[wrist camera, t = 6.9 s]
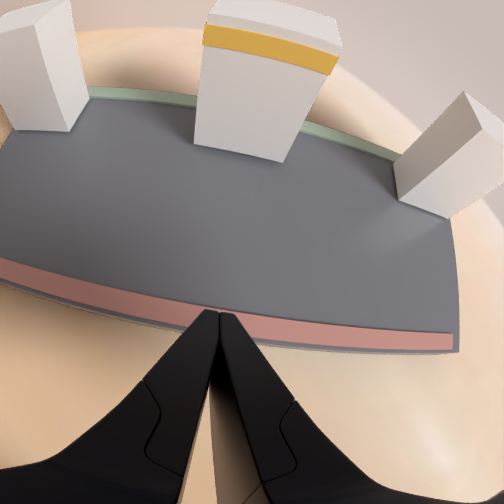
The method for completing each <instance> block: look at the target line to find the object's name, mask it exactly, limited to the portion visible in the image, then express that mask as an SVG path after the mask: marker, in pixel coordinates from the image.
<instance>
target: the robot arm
mask: <svg viewBox="0 0 504 504" xmlns="http://www.w3.org/2000/svg"><path fill="white" fill-rule="evenodd" d="M208 387H209V402H210V420H211V435H212V449H213V462H214V474H215V485H216V495H217V504H504V490H502V491H500V492H499V493H497V494H496V495H495V496H493V497H491V498H490V499H488V500H487V501H484V502H478V503H462V502H454V501H447V500H440V499H434V498H429V497H424V496H419V495H414V494H409V493H405V492H401V491H397V490H393V489H389V488H387V487H385V486H382V485H381V484H379V483H377V482H375V481H374V480H372V479H371V478H370V477H368V476H367V475H366V474H365V473H364V472H363V471H362V470H360V469H359V468H358V467H357V466H356V465H355V464H354V463H353V462H352V461H351V460H350V459H349V458H348V457H347V456H346V455H345V454H344V453H343V452H342V451H341V450H340V449H338V448H337V447H336V446H335V445H334V444H333V443H332V442H331V441H330V440H329V438H328V437H327V436H326V435H325V434H324V433H323V432H322V431H321V430H320V429H319V428H318V427H317V426H316V424H315V423H314V422H313V421H312V420H311V418H310V417H309V416H308V415H307V413H306V412H305V411H304V410H303V408H302V407H301V406H300V404H299V403H298V402H297V401H296V400H295V398H294V396H293V395H292V394H291V392H290V391H289V390H288V388H287V387H286V386H285V384H284V383H283V382H282V380H281V379H280V377H279V376H278V375H277V373H276V372H275V371H274V369H273V368H272V366H271V365H270V364H269V362H268V361H267V359H266V358H265V357H264V355H263V354H262V352H261V351H260V350H259V348H258V347H257V345H256V344H255V342H254V341H253V340H252V338H251V337H250V335H249V334H248V332H247V331H246V329H245V328H244V327H243V325H242V324H241V322H240V321H239V319H238V318H237V316H236V315H235V314H233V313H227V312H220V313H219V312H218V311H215V310H209V309H204V310H203V311H202V312H201V313H200V314H199V315H198V316H197V318H196V319H195V320H194V321H193V322H192V323H191V324H190V325H189V327H188V328H187V329H186V330H185V331H184V332H183V333H182V335H181V336H180V337H179V338H178V339H177V340H176V341H175V342H174V344H173V345H172V346H171V347H170V348H169V349H168V350H167V352H166V353H165V354H164V355H163V356H162V357H161V358H160V359H159V361H158V362H157V363H156V364H155V365H154V366H153V367H152V368H151V370H150V371H149V372H148V373H147V374H146V375H145V376H144V377H143V379H142V380H141V381H140V382H139V383H138V384H137V385H136V386H135V387H134V389H133V390H132V391H131V392H130V393H129V394H128V395H127V396H126V397H125V398H124V399H123V400H122V401H121V402H120V403H119V404H118V405H117V406H116V407H115V408H114V409H112V410H111V411H110V412H109V413H108V414H107V415H106V416H105V417H103V418H102V419H101V420H100V421H99V422H97V423H96V424H95V425H94V426H92V427H91V428H90V429H89V430H87V431H86V432H85V433H84V434H82V435H81V436H80V437H79V438H77V439H76V440H75V441H74V442H72V443H71V444H70V445H69V446H67V447H66V448H65V449H63V450H62V451H61V452H59V453H58V454H56V455H54V456H52V457H50V458H48V459H46V460H43V461H40V462H36V463H32V464H27V465H22V466H16V467H11V468H5V469H0V504H181V502H182V498H183V493H184V489H185V485H186V480H187V476H188V472H189V468H190V463H191V459H192V455H193V450H194V446H195V442H196V438H197V434H198V429H199V425H200V421H201V417H202V413H203V409H204V404H205V400H206V396H207V392H208ZM294 400H295V401H294Z"/></svg>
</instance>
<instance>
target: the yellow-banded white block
mask: <svg viewBox="0 0 504 504" xmlns="http://www.w3.org/2000/svg"><path fill="white" fill-rule="evenodd" d="M202 45H204V46H203V54H202V62H201V71H200V79H199V89H198V99H197V109H196V121H195V133H194V144H197V145H202V146H208V147H213V148H218V149H223V150H228V151H233V152H238V153H243V154H247V155H252V156H256V157H261V158H265V159H269V160H273V161H277V162H282V163H283V161H284V159H285V157H286V155H287V154H288V152H289V150H290V148H291V146H292V144H293V142H294V140H295V138H296V136H297V134H298V132H299V130H300V128H301V126H302V124H303V122H304V120H305V118H306V116H307V115H308V113H309V111H310V109H311V107H312V105H313V103H314V101H315V99H316V97H317V95H318V93H319V91H320V89H321V88H322V86H323V84H324V82H325V80H326V78H327V76H328V75H330V74H331V72H332V70H333V68H334V66H335V64H336V62H337V60H338V59H339V53H340V51H341V49H342V48H343V46H342V42H341V38H340V34H339V30H338V26H337V23H336V19H334V18H331V17H328V16H325V15H322V14H319V13H316V12H313V11H310V10H307V9H304V8H300V7H296V6H293V5H290V4H286V3H281V2H278V1H274V0H218V1H217V2H216V3H215V5H214V6H213V8H212V9H211V10H210V12H209V13H208V19H207V22H206V24H205V28H204V35H203V42H202Z"/></svg>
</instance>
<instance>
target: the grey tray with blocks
mask: <svg viewBox="0 0 504 504" xmlns="http://www.w3.org/2000/svg"><path fill="white" fill-rule="evenodd" d="M197 99H198V96H194V95H187V94H180V93H172V92H164V91H155V90H145V89H132V88H117V87H86V83H85V79H84V74H83V70H82V66H81V61H80V56H79V51H78V46H77V41H76V36H75V30H74V25H73V18H72V12H71V5H70V0H52V1H47V2H43V3H39V4H35V5H31V6H28V7H24V8H21V9H17V10H14V11H11V12H8V13H6V14H5V15H3V16H2V17H1V18H0V104H1V106H2V108H3V110H4V112H5V113H6V115H7V117H8V119H9V121H10V123H11V124H12V126H13V130H12V131H11V133H10V134H9V136H8V138H7V139H6V141H5V143H4V145H3V146H2V148H1V150H0V284H2V285H5V286H8V287H11V288H13V289H16V290H19V291H22V292H25V293H28V294H31V295H34V296H37V297H40V298H43V299H47V300H50V301H53V302H56V303H60V304H63V305H67V306H70V307H73V308H77V309H81V310H84V311H88V312H92V313H95V314H99V315H103V316H107V317H111V318H115V319H119V320H124V321H128V322H132V323H137V324H141V325H146V326H150V327H155V328H160V329H165V330H170V331H175V332H180V333H183V332H184V331H185V330H186V329H187V328H188V327H189V325H190V324H191V323H192V322H193V321H194V320H195V319H196V318H197V316H198V315H199V314H200V313H201V312H202V311H203V310H204V309H209V310H215V311H218V312H219V313H220V312H227V313H233V314H235V315H236V316H237V318H238V319H239V321H240V322H241V324H242V325H243V327H244V328H245V329H246V331H247V332H248V334H249V335H250V337H251V338H252V340H253V341H254V342H255V344H256V345H264V346H273V347H282V348H291V349H302V350H313V351H326V352H341V353H359V354H389V355H436V354H448V353H457V352H459V294H458V279H457V268H456V258H455V250H454V242H453V235H452V229H451V223H450V217H452V216H453V215H455V214H457V213H458V212H460V211H461V210H463V209H464V208H466V207H468V206H469V205H471V204H472V203H474V202H475V201H477V200H478V199H480V198H481V197H483V196H484V195H486V194H487V193H489V192H490V191H492V190H493V189H495V188H496V187H498V186H499V185H500V184H502V183H503V182H504V123H503V122H502V121H501V120H500V119H498V118H497V117H496V116H495V115H494V114H492V113H491V112H490V111H489V110H488V109H486V108H485V107H484V106H483V105H481V104H480V103H479V102H478V101H476V100H475V99H474V98H472V97H471V96H470V95H468V94H467V93H466V92H464V91H463V92H462V93H461V94H460V95H459V96H458V97H457V99H456V100H455V101H454V102H453V103H452V104H451V105H450V106H449V107H448V108H447V109H446V110H445V111H444V112H443V113H442V115H440V116H439V118H438V119H437V120H436V121H435V122H434V123H433V124H432V125H431V126H430V127H429V128H428V129H427V130H426V131H425V132H424V133H423V134H422V135H421V136H420V137H419V138H418V139H417V140H416V141H415V142H414V143H413V144H412V145H411V146H410V147H409V148H408V149H407V150H406V151H405V152H404V153H403V154H402V155H401V154H398V153H396V152H394V151H391V150H389V149H386V148H384V147H381V146H379V145H376V144H374V143H371V142H369V141H366V140H363V139H360V138H358V137H355V136H352V135H349V134H347V133H344V132H341V131H338V130H335V129H332V128H329V127H326V126H322V125H319V124H316V123H313V122H309V121H306V120H304V122H303V124H302V126H301V128H300V130H299V132H298V134H297V136H296V138H295V140H294V142H293V144H292V146H291V148H290V150H289V152H288V154H287V155H286V157H285V159H284V161H283V163H282V162H277V161H273V160H269V159H265V158H261V157H256V156H252V155H247V154H243V153H238V152H233V151H228V150H223V149H218V148H213V147H208V146H202V145H197V144H194V133H195V121H196V109H197Z"/></svg>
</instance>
